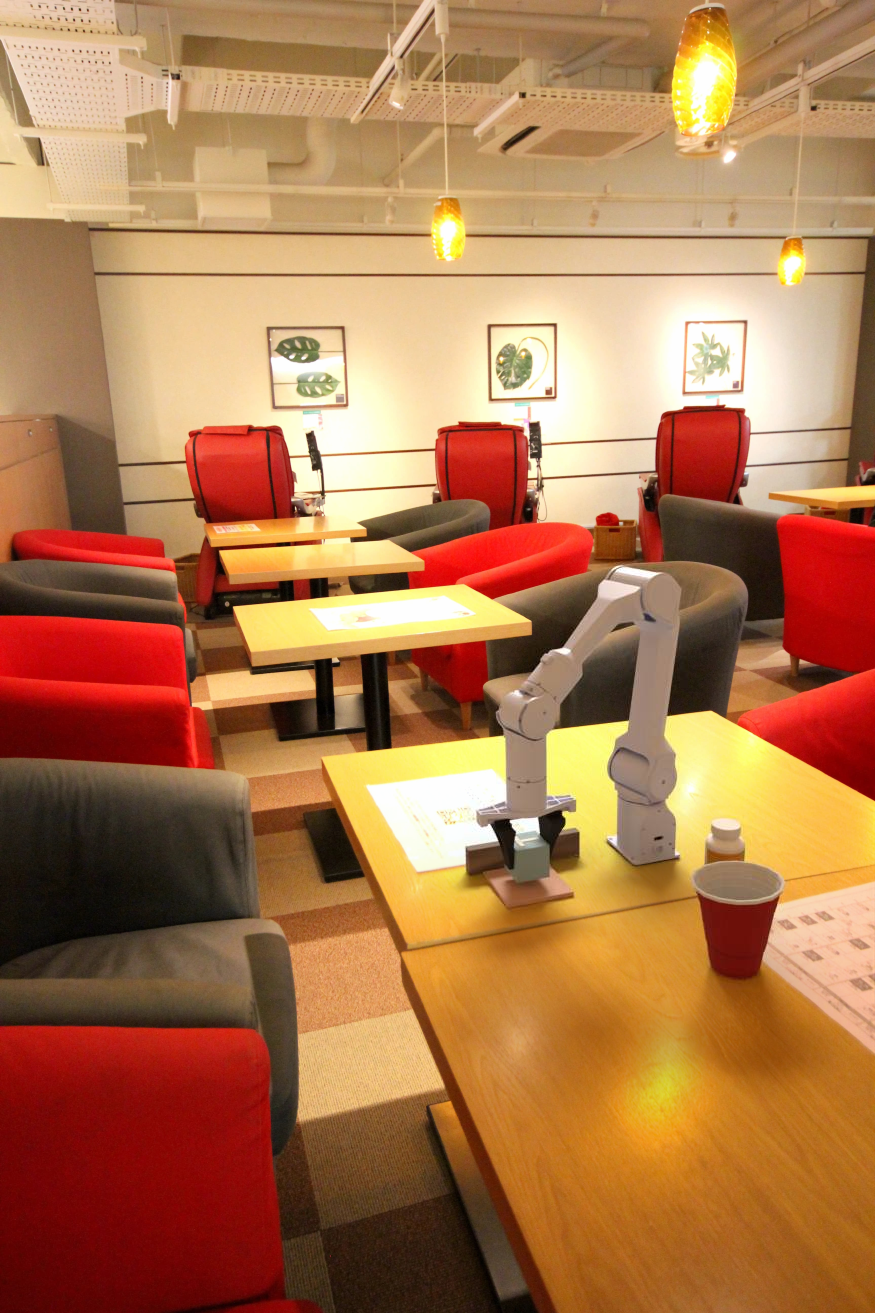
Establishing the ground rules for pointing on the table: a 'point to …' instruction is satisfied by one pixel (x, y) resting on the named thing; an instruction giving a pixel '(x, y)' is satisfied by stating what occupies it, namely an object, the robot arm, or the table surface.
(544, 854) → the lettered cube
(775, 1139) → the table surface
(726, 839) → the supplement bottle
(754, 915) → the plastic cup
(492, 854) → the walnut plank
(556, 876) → the terracotta tile
